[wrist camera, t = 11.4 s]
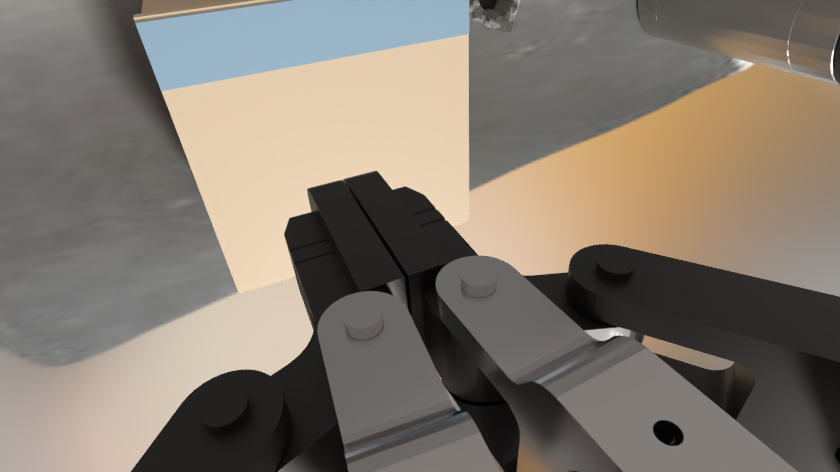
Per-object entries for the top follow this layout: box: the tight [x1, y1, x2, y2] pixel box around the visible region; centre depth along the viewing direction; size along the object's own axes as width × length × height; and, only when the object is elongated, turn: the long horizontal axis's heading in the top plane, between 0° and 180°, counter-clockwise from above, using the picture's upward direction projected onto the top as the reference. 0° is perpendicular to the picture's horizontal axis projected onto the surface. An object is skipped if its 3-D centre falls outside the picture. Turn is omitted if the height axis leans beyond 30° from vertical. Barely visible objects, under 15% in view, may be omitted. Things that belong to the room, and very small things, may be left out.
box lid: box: [133, 0, 469, 294], centre depth 28 cm, size 16×16×1 cm
